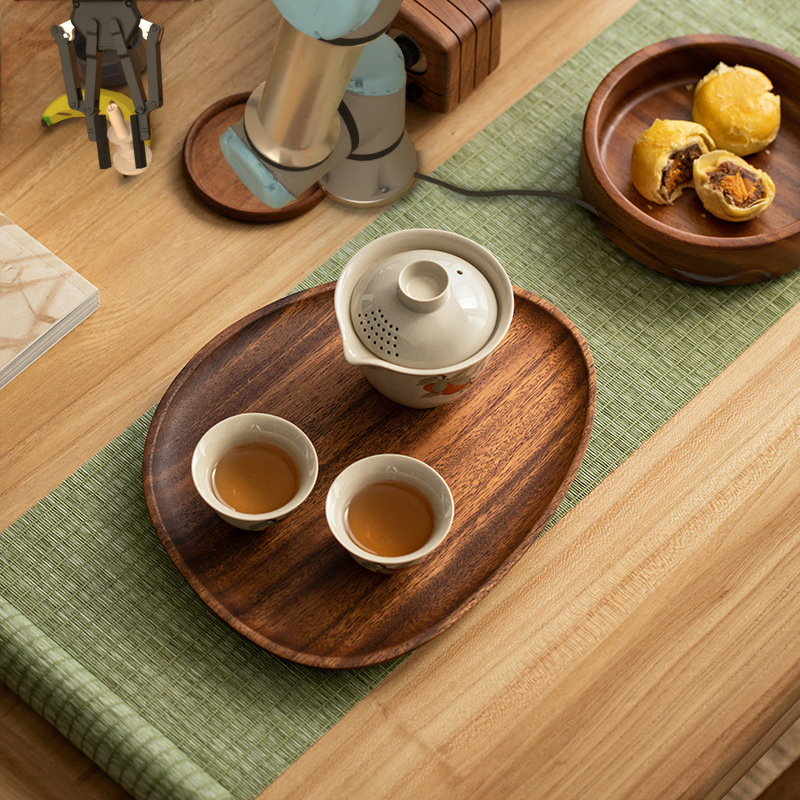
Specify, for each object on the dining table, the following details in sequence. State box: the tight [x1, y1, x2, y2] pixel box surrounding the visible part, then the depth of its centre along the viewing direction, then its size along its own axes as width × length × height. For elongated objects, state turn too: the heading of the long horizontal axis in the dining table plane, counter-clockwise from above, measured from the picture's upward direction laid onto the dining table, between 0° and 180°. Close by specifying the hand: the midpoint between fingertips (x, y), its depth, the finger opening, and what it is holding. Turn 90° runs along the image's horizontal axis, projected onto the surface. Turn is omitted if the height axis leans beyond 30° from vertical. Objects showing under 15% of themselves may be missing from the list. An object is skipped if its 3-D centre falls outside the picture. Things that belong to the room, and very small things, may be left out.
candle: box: [107, 103, 154, 176], centre depth 118 cm, size 5×5×10 cm
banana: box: [40, 87, 153, 179], centre depth 138 cm, size 5×17×15 cm
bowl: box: [73, 28, 147, 88], centre depth 143 cm, size 12×12×5 cm
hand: (123, 167), depth 118 cm, fingers closed on candle, 4 cm apart
